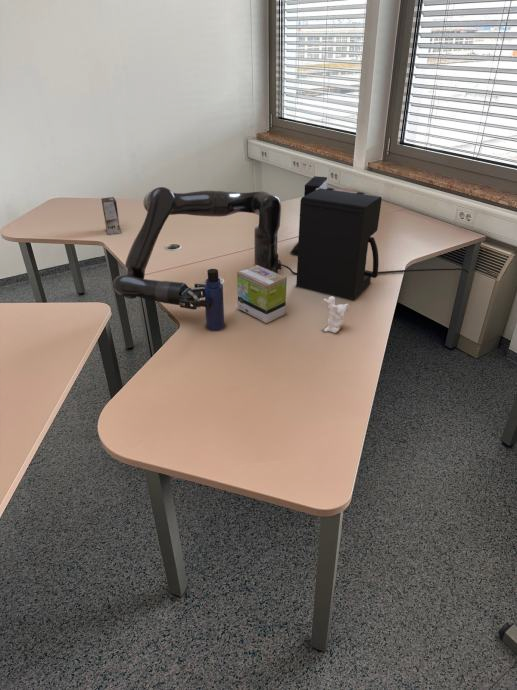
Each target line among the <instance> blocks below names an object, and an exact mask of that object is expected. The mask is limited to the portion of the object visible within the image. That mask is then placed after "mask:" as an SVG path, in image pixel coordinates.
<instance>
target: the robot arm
mask: <svg viewBox="0 0 517 690" xmlns="http://www.w3.org/2000/svg"><path fill="white" fill-rule="evenodd" d="M142 201H143V203H142V204H143V208H144V210H145V211H146V212H147V213H146V216H145V219H144V221H143V224H142V226H141V228H140V230H139V231H138V233H137V234H136V236H135V238H134V240H133V242H132V245H131V247H130V248H129V251H128V255H127V256H126V260H125V264H124V265H125V267H126V269H127V274H120V275H118V276H116V277H115V278H114V279H113V281H112V287H113V290H114V291H115V292H116V294H118V295H119V296H122V297H124V298H126V299H128V300H129V299H130V300H132V299H136V298H141V299H144V300H147V301H153V302H158V303H162V304H168V305H175V306H179V308H182V309H187V310H194V311H196V310H198V308H205V307H208V308H212V306H213V305H212V301H209V300H205V292H204V285H205V284H206V283H205V284H204V283H203V284H202V283H194V287H189V286H188V285H187V283H186V282H180V281H179V282H178V281H172V280H158V279H148V278H145V276H146V275H145V274H146V268H148V267H147V266H148V264H149V262H150V258H151V256H152V254H153V250H154V249H155V245H156V243H157V240H158V238H159V235H160V233H161V231H162V230H163V227H164V226H165V224H166V222H167V219H168V218H169V216H174V215H187V216H195V217H196V216H197V217H209V218H210V217H212V218H213V217H215V218H217V217H220V218H221V217H227V216H231V215H234V214H237V213H248V214H254V215H257V216H258V224H257V225H256V226H254V233H253V235H254V236H253V237H254V238H253V239H254V240H253V241H254V243H253V244H254V247H253V249H254V258H253V259H254V262H253V266H255V265H258V266H261V267H263V268H265V269H268V270H270V271H273V272H275V273H277V274H279V270H282V267H284V268H286V269H287V270H289V271H290V273H291V274H293V275H296V276H297V272H295V271H293V269H291V267H289V266H288V265H285V264H283V263H282V262H281V259H279V253H278V236H279V235H278V233H279V229H280V226H281V217H282V205H281V204H282V203H281V201H280V198H279V197H277V196H276V195H274V194H272V193H270V192H268V191H265V190H264V191H248V192H237V191H228V190H211V189H210V190H198V191H197V190H196V191H190V192H184V193H183V192H182V193H181V192H172V191H171V190H170V189H169V188H168V187H166V186H165V187H163V186H158V187H155V188H152V189H151V190H149V191H148V192H147V193H146V194H145V195H144V197H143V200H142ZM424 271H426V272H428V271H464V272H465V273H470V271H469V270H468V269H466V268H463V267H457V268H455V267H454V268H449V267H448V268H447V267H445V268H417V269H416V268H413V269H398V270H385V271H378V274H390V273H405V272H406V273H407V272H424ZM203 298H204V299H203Z"/></svg>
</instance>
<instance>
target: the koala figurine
mask: <svg viewBox="0 0 517 690" xmlns="http://www.w3.org/2000/svg"><path fill="white" fill-rule="evenodd" d="M323 301H324V302H325V303H326V304H327V309H328V310H329V313H328V320H327V326H326V327H325V328H324V329H323V331H324V332H331V333H334V334H337V333H338V332H339V331H340V330H341V326H343V325H345V322H346V313H347V310H348V309H349V308H350V303H344V304H342V303H340V304H337V305H336V298H335V296H333V295H330V296H329V297H328V299H327V298H323Z"/></svg>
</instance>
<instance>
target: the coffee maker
mask: <svg viewBox="0 0 517 690" xmlns="http://www.w3.org/2000/svg"><path fill="white" fill-rule="evenodd" d="M382 199H383V198H382V196H379V195H373V194H367V193H365V192H363V191H362V192H361V191H357V192H353V191H352V192H351V191H345V190H337V189H335V188H332V187H327V189H324V188H319V189H317V190H315V191H313V192H311V193H309V194H308V195H306V196H304V195H303V196H302V197H301V198H300V205H299V225H298V242H297V243H298V255H297V261H296V262H297V263H296V273H297V275H296V281H295V282H296V283H295V284H296V285H295V287H297V288H300V289H304V290H307V291H308V290H309V291H313V292H317V293H320V294H325V295H329V296H333V297H337V298H340V299H341V298H342V299H344V300H345V299H346V300H349V301H355V300H356V299H357V297H358V296H359V295H361V293H362V292H363V291H364V290H365V289H366V288H367V287H368V286H369V285H370V284H371V280H372V278H373V279H376V278H377V277H378V272H379V264H380V263H379V261H380V260H379V250H378V245H377V243H376V239H375V238H374V236H373V235H374V234H375V233H377V231H378V228H379V222H380V214H381V207H382V201H383V200H382ZM369 244H370V247H371V252H372V270H368V269H366V265H367V256H368V248H369Z"/></svg>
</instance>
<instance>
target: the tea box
mask: <svg viewBox="0 0 517 690" xmlns="http://www.w3.org/2000/svg"><path fill="white" fill-rule="evenodd" d="M287 280H288V277H287V276H285V275H282V274H279V273H278V274H277V273H275V272H273V271H270V270H268V269H265V268H263V267H261V266H258V265H255V266H254V265H253V266H251V267H248V268H246V269H243V270H240V271H238V272H236V282H237V283H236V285H237V309H238V310H240V311H242V312H245V313H246V314H248V315H250V316H252V317H254V318H256V319H257V320H259V321H261V322H263V323H265V324H268V323H270V322H272V321H274V320H276V319H278V318H281V317H282V316H285V315H286V307H287V306H286V305H287V285H288V284H287V283H288V282H287Z"/></svg>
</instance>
